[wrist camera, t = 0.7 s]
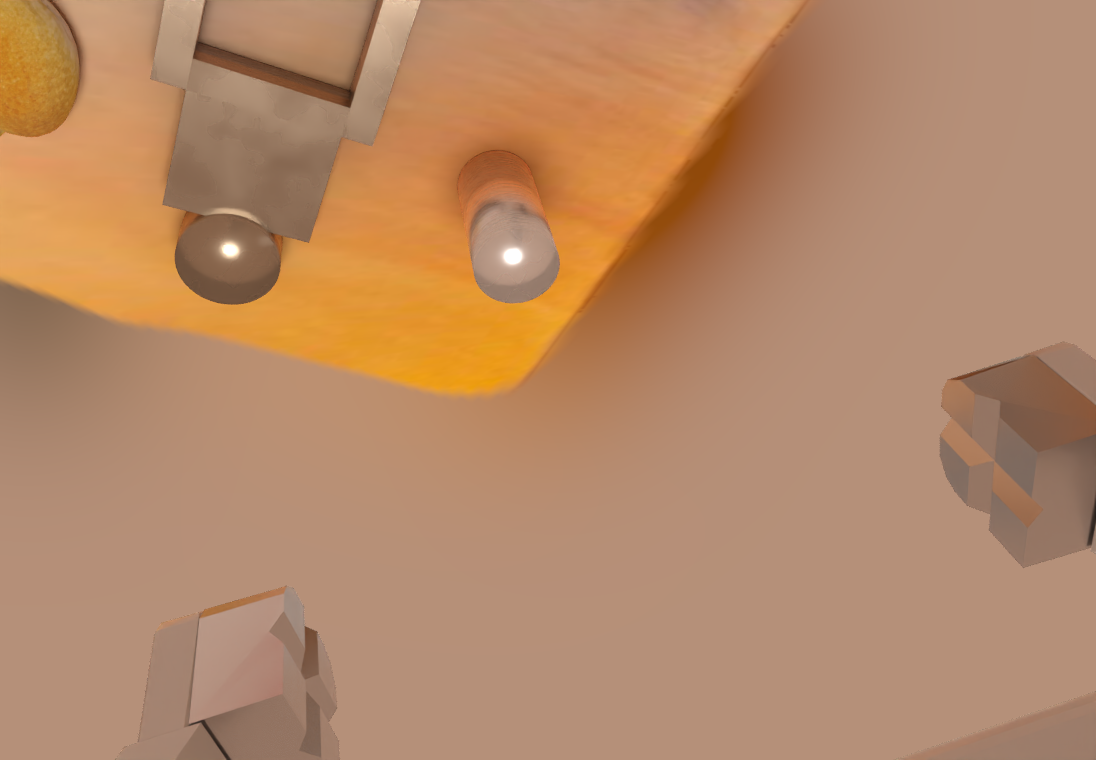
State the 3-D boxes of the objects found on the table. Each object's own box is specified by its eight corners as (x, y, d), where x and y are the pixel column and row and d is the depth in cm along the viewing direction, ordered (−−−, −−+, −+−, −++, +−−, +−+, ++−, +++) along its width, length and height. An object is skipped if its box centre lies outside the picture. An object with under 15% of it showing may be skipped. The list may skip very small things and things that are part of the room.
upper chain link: (199, -172, 38) (192, -159, 36) (437, -76, 42) (442, -60, 40) (121, 252, 49) (113, 278, 47) (315, 298, 53) (315, 325, 51)
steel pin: (472, 140, 49) (492, 219, 43) (544, 163, 50) (573, 242, 44) (446, 207, 51) (461, 291, 45) (516, 227, 52) (539, 311, 46)
